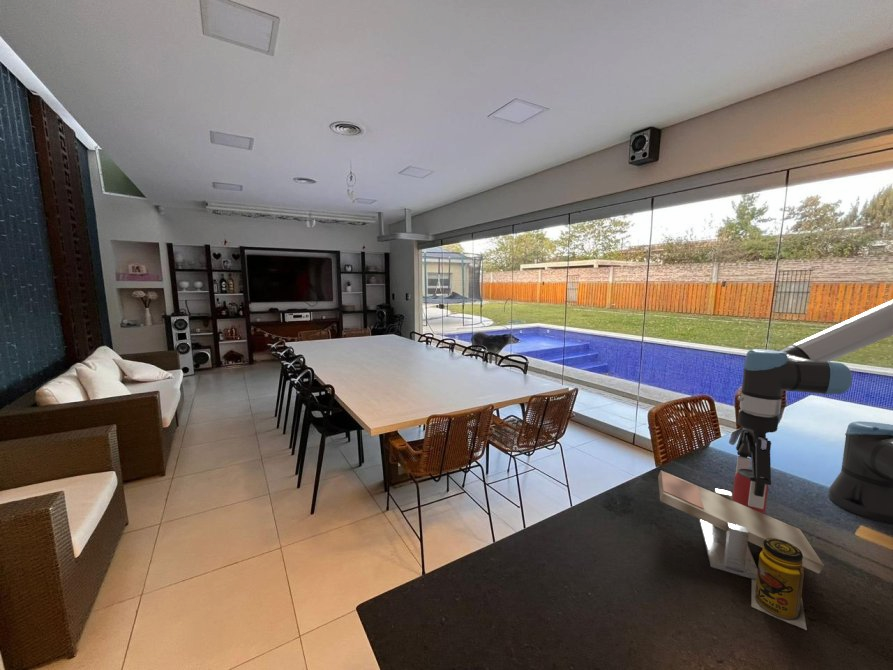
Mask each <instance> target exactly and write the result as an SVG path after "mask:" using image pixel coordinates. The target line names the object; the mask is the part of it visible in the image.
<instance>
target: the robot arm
mask: <svg viewBox="0 0 893 670" xmlns="http://www.w3.org/2000/svg"><path fill="white" fill-rule="evenodd" d="M892 336H893V299H891V300H888V301H887V302H884V303H882V304H879V305H878V306H875V307H872V308H871V309H868V310H866V311H864V312H862V313H860V314H857V315H855V316H852V317H850V318H848V319H845V320H844V321H841V322H840V323H836V324H834V325H833V326H830V327H828V328H826V329H823V330H822V331H819V332H816V333H815V334H812V335H810V336H808V337H806V338H803V339H801V340H799V341H797V342H794V343H792V344H789V345H787V346H784V347H783V348H781V349H765V348H764V349H763V348H754V349H753V348H752V349H750V350H748V351H747V353H746V356H745V359H744V364H743V374H742V375H743V377H742V382H741V383H742V385H741V395H740V396H738V397H737V400H738V401H739V408H740V409H739V410H738V414H737V424H738V425H739V426H740V427H741V430H740V431H741V432H740V434H739V438H738V441H737V444H736V447H735V449H736V451H737V459H736V469H735V474H734V475H736V474H737V472H738V470H739V469H751V467H752V469H751V470H752V471H753V478H752V477H750V478H749V480H750V481H751V484H750V492H749V499H748V506H751V507H756V508H760V509H763V508H764V500H765V493H766V486H767V485H768V486H771V484H772V476H771V475H772V472H771V468H772V467H771V447H772V441H771V440H769V438H768V437H767V434H768V433H770V434H771V433H776V432H777V431H778V427H779V419H780V418H779V416H778V415H780V414H781V409H782V408H781V406H782V399H783V393H784V391H785V392H798V393H799V392H800V393H810V394H811V393H812V394H821V395H842V394H845V393H846V392H847V391H848V390H849V389H850V388H851V386H852V382H853V375H852V372H851V370H850V368H849V367H848V366H847V365H845V364H844V363H841V362H836V361H835V362H833V361H834V360H837V359H839V358H841V357H843V356H846V355H849V354H851V353H853V352H856V351H858V350H860V349H863V348H866V347H868V346H870V345H872V344H875V343H877V342H880V341H883V340H884V339H888V338H890V337H892ZM844 435H845V439H844V448H843V455H842V461H841V462H842V463H841V469H840V473H839V474H838V475H837V476H836V478H835V479H834V480H833V482H832V484H831V485H830V486H829V488H828V494H827V496H828V498H829V500H831V501H832V502H833V503H834V504H835V505H837V506H839V507H841V508H843V509H844V510H846V511H849V512H851V513H853V514H856V515H858V516H862V517H863V518H867V519H871V520H873V521H877V522H881V523H885V524H891V525H893V424H889V423H882V422H874V421H852V422H850V423H849V424H848V425H847V429H846V431H845V434H844ZM761 477H763V478H761Z"/></svg>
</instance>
